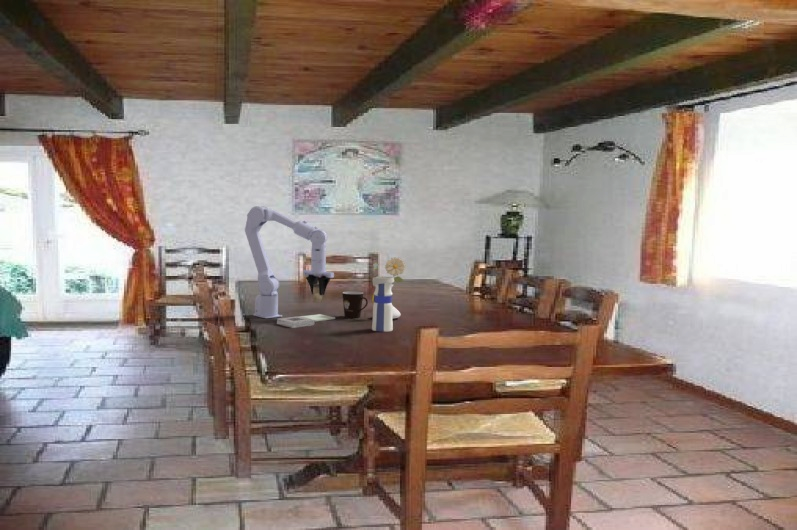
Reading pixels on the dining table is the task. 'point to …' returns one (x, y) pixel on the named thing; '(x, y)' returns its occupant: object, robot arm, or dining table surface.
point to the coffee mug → (353, 304)
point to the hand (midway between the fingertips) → (318, 294)
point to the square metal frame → (295, 322)
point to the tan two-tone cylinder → (316, 294)
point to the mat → (319, 317)
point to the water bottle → (382, 303)
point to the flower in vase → (395, 268)
